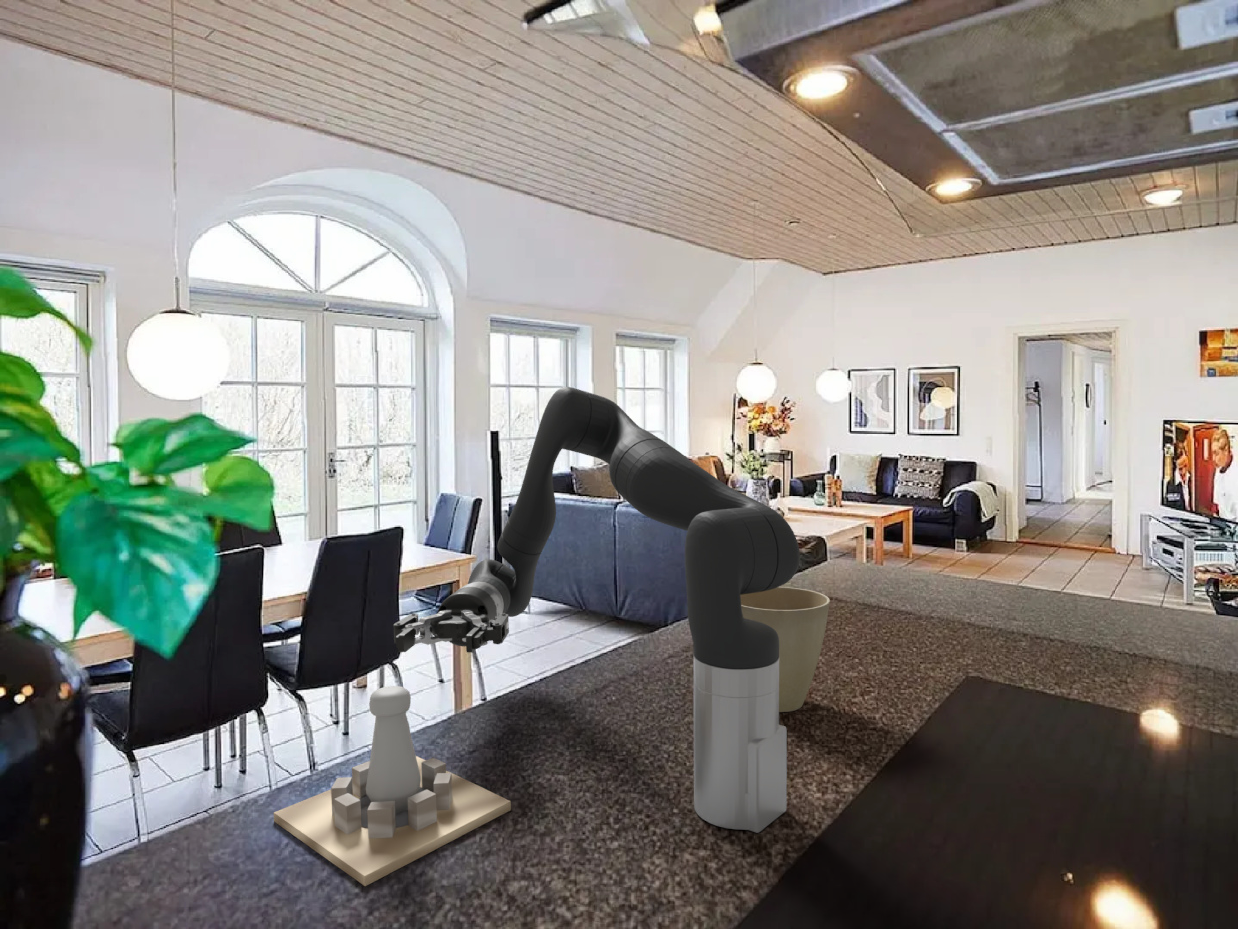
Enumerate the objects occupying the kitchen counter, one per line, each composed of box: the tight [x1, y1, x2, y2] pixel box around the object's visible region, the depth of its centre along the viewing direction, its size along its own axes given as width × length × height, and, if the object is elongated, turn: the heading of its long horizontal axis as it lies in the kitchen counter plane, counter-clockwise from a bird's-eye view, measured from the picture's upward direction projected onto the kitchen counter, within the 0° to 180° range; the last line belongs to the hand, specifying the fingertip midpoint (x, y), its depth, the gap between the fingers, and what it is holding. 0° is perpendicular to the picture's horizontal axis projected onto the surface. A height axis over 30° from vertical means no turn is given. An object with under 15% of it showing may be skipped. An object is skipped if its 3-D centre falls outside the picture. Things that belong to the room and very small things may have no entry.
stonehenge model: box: [273, 755, 512, 887], centre depth 87 cm, size 18×18×4 cm
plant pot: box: [740, 586, 831, 713], centre depth 117 cm, size 15×15×16 cm
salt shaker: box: [366, 685, 421, 814], centre depth 86 cm, size 6×6×13 cm
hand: (435, 644), depth 97 cm, fingers open, 8 cm apart
